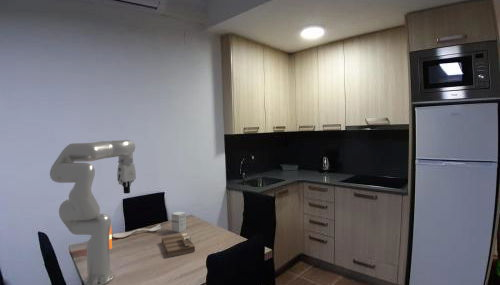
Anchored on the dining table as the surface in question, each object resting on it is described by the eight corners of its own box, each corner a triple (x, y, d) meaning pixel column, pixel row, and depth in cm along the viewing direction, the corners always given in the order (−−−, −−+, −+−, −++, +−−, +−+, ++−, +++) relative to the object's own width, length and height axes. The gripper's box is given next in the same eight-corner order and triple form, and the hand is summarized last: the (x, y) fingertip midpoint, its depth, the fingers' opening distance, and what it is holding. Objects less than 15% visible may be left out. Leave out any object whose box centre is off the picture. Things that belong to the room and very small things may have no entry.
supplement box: (171, 231, 191) (170, 213, 190) (178, 227, 197) (178, 210, 197) (179, 232, 187) (178, 214, 187) (186, 229, 194) (186, 212, 194)
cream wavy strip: (162, 232, 190) (162, 227, 190) (112, 241, 175) (112, 236, 175) (160, 228, 198) (160, 223, 198) (111, 236, 183) (111, 231, 183)
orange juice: (106, 244, 169) (104, 213, 169) (112, 248, 164) (111, 215, 163) (92, 248, 163) (91, 216, 163) (98, 252, 158) (97, 219, 157)
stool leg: (190, 245, 157) (190, 239, 157) (185, 246, 156) (185, 240, 156) (186, 237, 169) (186, 232, 169) (181, 238, 168) (181, 232, 168)
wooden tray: (194, 251, 157) (194, 241, 157) (168, 257, 150) (168, 246, 150) (185, 237, 178) (184, 228, 178) (161, 242, 172) (161, 232, 171)
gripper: (121, 163, 147) (122, 196, 148) (140, 160, 162) (141, 190, 162) (110, 163, 150) (111, 195, 150) (130, 160, 164) (131, 190, 164)
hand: (126, 193), depth 156 cm, fingers closed
